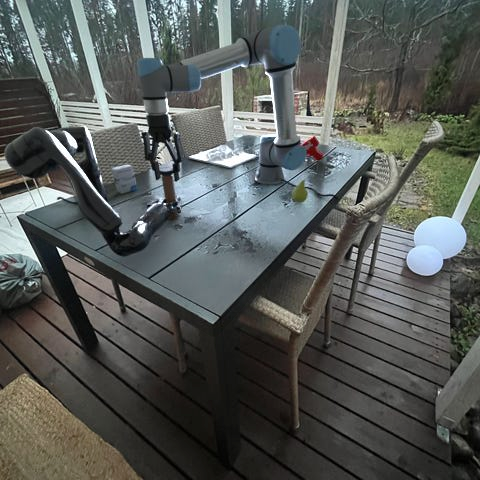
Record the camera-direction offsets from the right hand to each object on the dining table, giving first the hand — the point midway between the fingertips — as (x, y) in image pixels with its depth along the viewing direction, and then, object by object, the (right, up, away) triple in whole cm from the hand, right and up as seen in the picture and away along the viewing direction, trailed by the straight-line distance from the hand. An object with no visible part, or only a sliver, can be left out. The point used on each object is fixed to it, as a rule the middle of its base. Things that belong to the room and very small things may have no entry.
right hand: (167, 179), depth 103 cm
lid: (0, +3, -2) cm, 4 cm away
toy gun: (+70, +28, +72) cm, 104 cm away
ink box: (-28, +1, +32) cm, 42 cm away
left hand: (+1, -6, +7) cm, 9 cm away
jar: (0, -13, +8) cm, 16 cm away
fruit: (+54, -6, +19) cm, 58 cm away
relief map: (+16, +31, +77) cm, 85 cm away
